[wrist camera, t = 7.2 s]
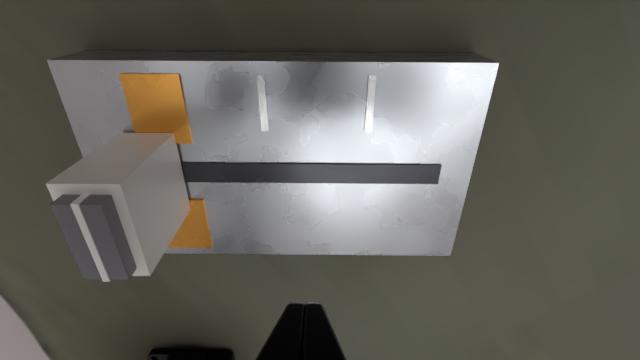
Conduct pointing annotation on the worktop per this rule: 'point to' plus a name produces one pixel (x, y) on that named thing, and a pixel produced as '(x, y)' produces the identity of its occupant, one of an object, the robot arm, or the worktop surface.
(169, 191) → the fader tab
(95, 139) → the console
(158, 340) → the worktop surface
